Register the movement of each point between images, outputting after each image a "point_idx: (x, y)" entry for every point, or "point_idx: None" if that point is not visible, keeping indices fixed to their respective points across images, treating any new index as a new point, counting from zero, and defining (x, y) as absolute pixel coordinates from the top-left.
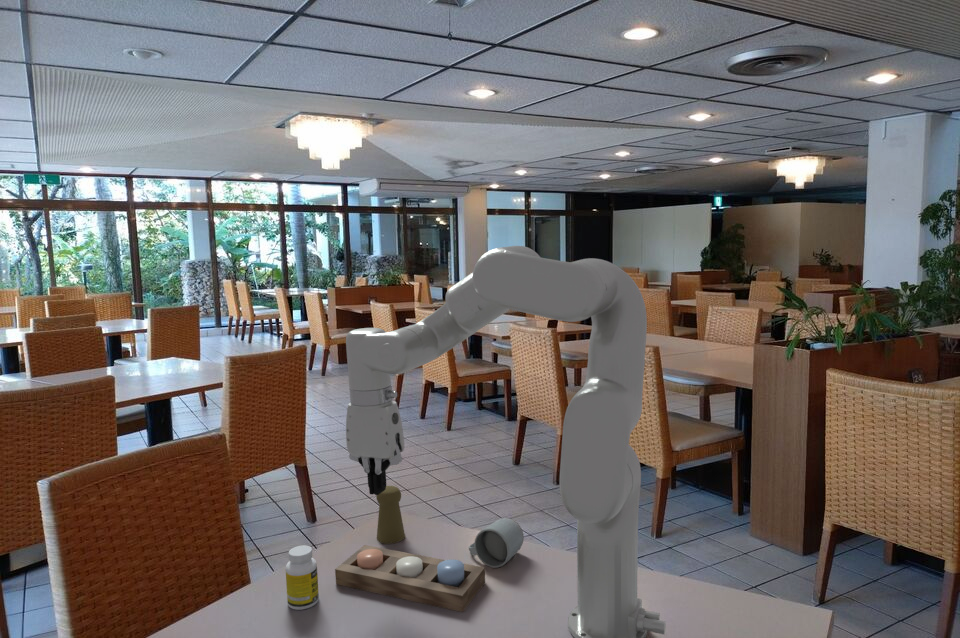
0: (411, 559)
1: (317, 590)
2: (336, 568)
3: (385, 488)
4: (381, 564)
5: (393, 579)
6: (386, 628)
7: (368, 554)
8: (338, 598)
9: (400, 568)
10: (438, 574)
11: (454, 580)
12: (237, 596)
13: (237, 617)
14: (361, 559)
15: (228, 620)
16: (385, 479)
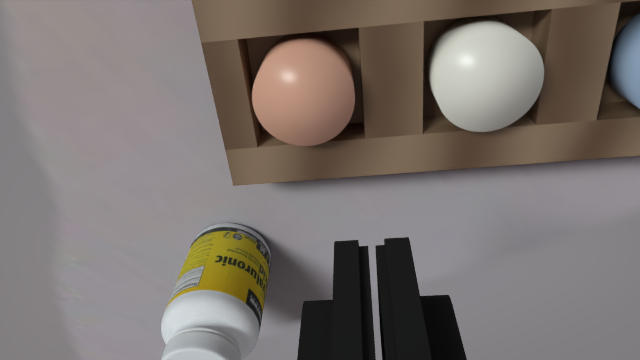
0: (487, 58)
1: (263, 262)
2: (234, 181)
3: (409, 242)
4: (363, 97)
5: (460, 159)
6: (501, 253)
7: (294, 98)
8: (302, 207)
9: (474, 131)
10: (638, 107)
11: None
12: (67, 291)
13: (151, 337)
14: (295, 138)
15: (145, 348)
16: (460, 350)
